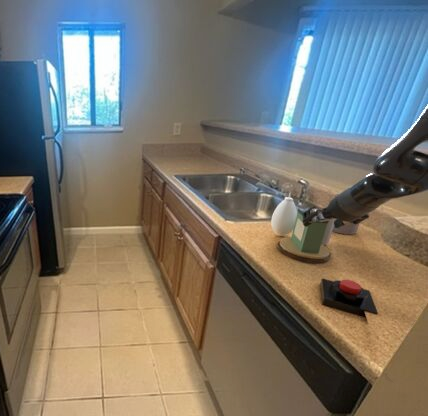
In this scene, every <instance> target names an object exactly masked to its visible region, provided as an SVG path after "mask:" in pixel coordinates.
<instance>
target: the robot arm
mask: <svg viewBox="0 0 428 416" xmlns="http://www.w3.org/2000/svg"><path fill="white" fill-rule="evenodd" d="M423 143H428V104H427V105H426V106H425V108H424V110H423V111H422V113H421V114H420V115H419V117H418V118H417V120H416V121H415V123H413V125H412V126H411V127H410V128H409V129H408V130H407V131H406V132H405V133H404V134H403V135H402V136H401V137H400V138H399V139H398V140H397V141H396V142H394V143H393V144H392V145H391V146H390V147H388V148H387V149H386V150H385V151H384V152H382V153H381V154H380V155H379V156H378V157H377V158H376V159H375V161H374V163H373V166H372V171H373V173H369V174H367V175H365V176H364V177H363V178H362V179H360V180H359V181H357V182H356V183H355V184H353V185H351V186H349V187H347V188H346V189H344V190H343V191H341V192H340V193H338V194H339V195H338V196H336V197H335V196H334V198H332V199H331V200H329V203H328V205H327V206H326V207H322V208H318V207H317V205H313V206H310V207H309V208H307V209H308V210H307V211H305V212H304V213H302V216H303V225H304V226H309V225H310V224H312V223H313V222H317V221H319V222H324V221H329V220H331V221H333V220H336V221H334V226H335V228H340V227H341V226H344V225H348V224H350V223H353V224H358V223H362V222H364V221H365V220H367V219H369V218H370V213H372V212H374V211H375V210H376V209H378V208H379V207H381V206H382V205H384V204H386V203H387V202H390V201H391V200H395V199H399V198H404V197H409V196H412V195H416V194H417V195H418V194H420V193H425V192H427V191H428V153H426V152H422V151H418V150H416V148H417V147H418V146H420V145H421V144H423ZM321 214H322V215H323V217H324V218H323V219H322V218H321ZM315 216H316V219H313V218H314V217H315Z"/></svg>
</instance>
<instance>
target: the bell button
mask: <svg viewBox="0 0 428 416" xmlns="http://www.w3.org/2000/svg"><path fill="white" fill-rule="evenodd" d="M340 281H341V282H340V285H339V288H340V289H341V290H343V291H345V292H347V293H351V294H359V293H360V290H361V287H362V286H361V284H360V283H358V282H356V281H353V280H351V279H341V280H340Z"/></svg>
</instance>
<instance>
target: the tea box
mask: <svg viewBox="0 0 428 416" xmlns="http://www.w3.org/2000/svg"><path fill="white" fill-rule="evenodd" d="M308 209H309V208H299V207H298V208H297V217H296V221H295V225H294V229H293V231H292V232H291V236H284V237H282V238H281V239H279V241H280V246H281V247H282V248H283V249H284V250H286V251H288V252H290V253H292V254H295V255H298V256H301V257H305V258H311V259H323V258H326V257H328V256H329V254H331V252H330V249H329V248H328V247H327V246H326V245H322V244H321V243H322V240H323V237H324V233H325V230H326V227H327V224H328V222H329V221H324V222H319V221H317V222H313V223H312V224H310V225H309V226H304V225H303V216H302V213H304V212H305V211H307V210H308ZM321 218H322V219H323V218H324V217H323V215H322V214H321ZM313 219H316V216H315V217H314V218H313Z"/></svg>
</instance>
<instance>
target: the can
mask: <svg viewBox="0 0 428 416" xmlns="http://www.w3.org/2000/svg"><path fill="white" fill-rule="evenodd" d="M334 221H336V220H333V221H331V220H329V222H328V224H327V227H326V230H325V233H324V237H323V240H322V243H321V244H322V245H324V246H326V245H329V243H330V239H331V236H332V234H333V227H334Z"/></svg>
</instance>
